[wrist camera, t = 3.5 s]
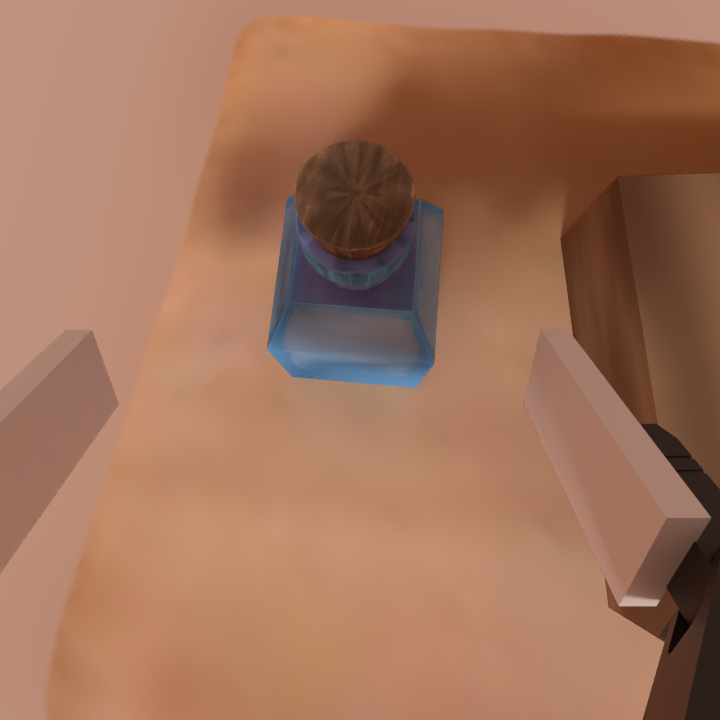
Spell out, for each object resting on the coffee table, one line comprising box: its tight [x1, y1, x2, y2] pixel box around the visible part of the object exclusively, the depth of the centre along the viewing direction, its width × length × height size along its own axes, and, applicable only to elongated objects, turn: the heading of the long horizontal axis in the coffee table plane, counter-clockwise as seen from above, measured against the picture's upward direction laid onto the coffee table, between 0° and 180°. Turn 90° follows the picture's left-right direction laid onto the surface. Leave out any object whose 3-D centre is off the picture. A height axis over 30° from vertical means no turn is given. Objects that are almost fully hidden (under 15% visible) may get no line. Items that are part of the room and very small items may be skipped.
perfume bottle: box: [267, 140, 443, 388], centre depth 18 cm, size 6×6×12 cm
